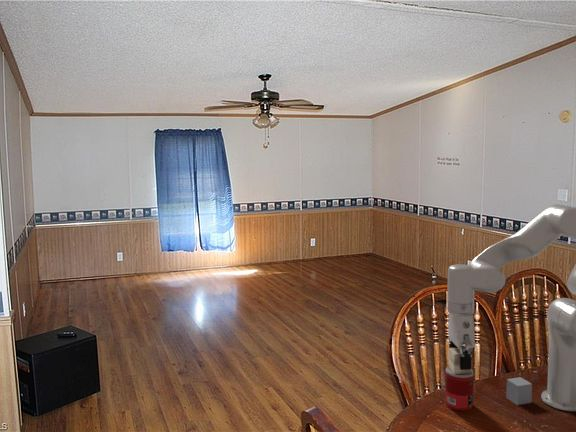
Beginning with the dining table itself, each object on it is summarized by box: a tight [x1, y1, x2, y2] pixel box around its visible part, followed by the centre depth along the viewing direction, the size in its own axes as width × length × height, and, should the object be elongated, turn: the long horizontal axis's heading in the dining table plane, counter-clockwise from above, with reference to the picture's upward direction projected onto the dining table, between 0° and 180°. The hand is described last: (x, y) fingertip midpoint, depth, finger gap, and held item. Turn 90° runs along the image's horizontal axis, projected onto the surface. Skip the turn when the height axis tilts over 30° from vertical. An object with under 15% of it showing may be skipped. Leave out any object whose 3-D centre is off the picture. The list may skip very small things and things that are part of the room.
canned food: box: [444, 366, 475, 412], centre depth 157 cm, size 8×8×11 cm
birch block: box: [448, 347, 472, 374], centre depth 156 cm, size 5×5×6 cm
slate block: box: [505, 376, 533, 406], centre depth 159 cm, size 5×5×6 cm
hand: (459, 362), depth 156 cm, fingers open, 9 cm apart
